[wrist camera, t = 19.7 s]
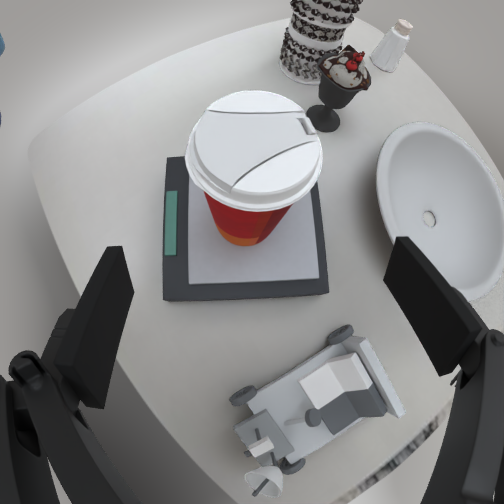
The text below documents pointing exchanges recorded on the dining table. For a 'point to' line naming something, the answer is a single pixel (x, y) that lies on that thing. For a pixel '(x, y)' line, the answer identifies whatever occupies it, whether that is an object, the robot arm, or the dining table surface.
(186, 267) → the scale
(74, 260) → the dining table surface
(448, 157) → the white bowl
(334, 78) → the sundae
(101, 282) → the robot arm
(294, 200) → the coffee cup
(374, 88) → the dining table surface
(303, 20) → the decorative candle
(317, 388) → the toy car
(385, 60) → the pepper shaker
